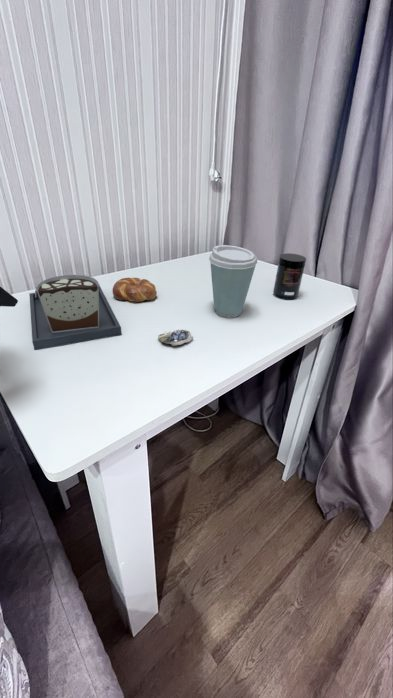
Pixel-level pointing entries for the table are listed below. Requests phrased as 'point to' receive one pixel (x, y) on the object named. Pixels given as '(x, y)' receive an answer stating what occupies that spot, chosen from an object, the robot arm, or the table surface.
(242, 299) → the disposable coffee cup
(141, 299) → the pretzel
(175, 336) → the crystal geode
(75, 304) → the food container
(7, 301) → the robot arm
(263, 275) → the table surface
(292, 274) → the supplement container
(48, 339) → the tray
